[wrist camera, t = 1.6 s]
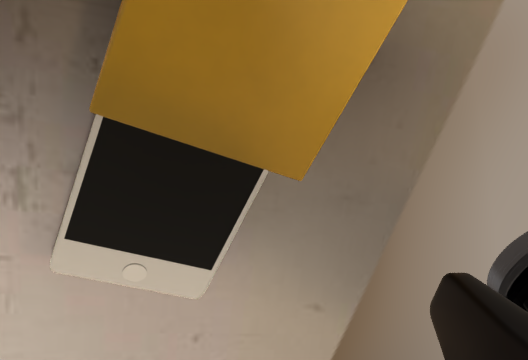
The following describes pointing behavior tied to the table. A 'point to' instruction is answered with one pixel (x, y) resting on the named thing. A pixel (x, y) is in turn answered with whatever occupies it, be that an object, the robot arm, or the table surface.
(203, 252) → the smartphone
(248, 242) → the table surface
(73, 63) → the table surface
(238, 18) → the block
